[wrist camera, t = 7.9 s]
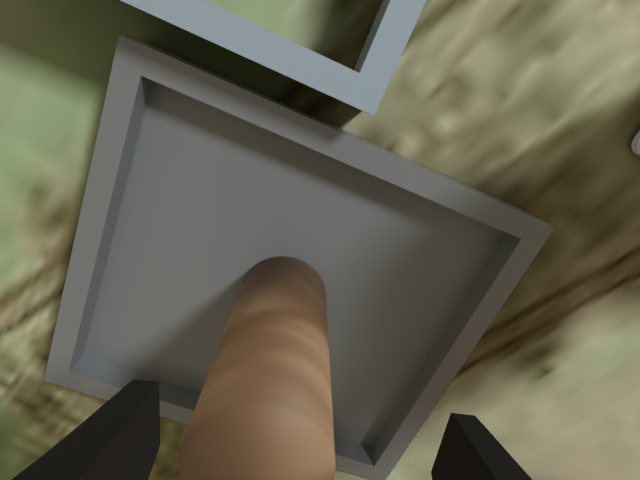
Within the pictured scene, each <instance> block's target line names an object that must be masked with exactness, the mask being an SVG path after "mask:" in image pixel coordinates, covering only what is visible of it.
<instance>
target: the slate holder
mask: <svg viewBox="0 0 640 480" xmlns="http://www.w3.org/2000/svg"><path fill="white" fill-rule="evenodd" d="M120 1H122V2H124V3H126V4H128V5H131V6H133V7H135V8H137V9H139V10H142V11H144V12H146V13H148V14H150V15H153V16H155V17H157V18H159V19H161V20H163V21H166V22H168V23H170V24H172V25H174V26H177V27H179V28H181V29H183V30H185V31H188V32H190V33H192V34H194V35H196V36H199V37H201V38H203V39H205V40H207V41H210V42H212V43H214V44H216V45H218V46H221V47H223V48H225V49H227V50H229V51H232V52H234V53H236V54H238V55H240V56H243V57H245V58H247V59H249V60H251V61H254V62H256V63H258V64H260V65H262V66H265V67H267V68H269V69H271V70H273V71H276V72H278V73H280V74H282V75H284V76H287V77H289V78H291V79H293V80H295V81H298V82H300V83H302V84H304V85H306V86H309V87H311V88H313V89H315V90H317V91H320V92H322V93H324V94H326V95H328V96H331V97H333V98H335V99H337V100H339V101H342V102H344V103H346V104H348V105H350V106H352V107H355V108H357V109H359V110H361V111H364V112H366V113H368V114H371V115H373V116H374V115H375V113H376V111H377V108H378V106H379V104H380V102H381V99H382V97H383V95H384V93H385V91H386V88H387V86H388V84H389V82H390V80H391V77H392V75H393V73H394V71H395V69H396V66H397V64H398V62H399V60H400V57H401V55H402V53H403V51H404V49H405V46H406V44H407V42H408V40H409V38H410V35H411V33H412V31H413V29H414V27H415V24H416V22H417V20H418V18H419V15H420V13H421V11H422V9H423V7H424V4H425V2H426V0H383V1H382V3H381V5H380V8H379V10H378V13H377V15H376V17H375V20H374V22H373V25H372V27H371V29H370V32H369V34H368V37H367V39H366V41H365V44H364V46H363V49H362V51H361V53H360V56H359V58H358V60H357V63H356V65H355V68H354V70H352V69H350V68H348V67H346V66H344V65H342V64H339V63H337V62H335V61H333V60H331V59H329V58H327V57H324V56H322V55H320V54H318V53H316V52H314V51H312V50H310V49H307V48H305V47H303V46H301V45H299V44H297V43H295V42H293V41H290V40H288V39H286V38H284V37H282V36H280V35H278V34H276V33H273V32H271V31H269V30H267V29H265V28H263V27H261V26H259V25H256V24H254V23H252V22H250V21H248V20H246V19H244V18H242V17H239V16H237V15H235V14H233V13H231V12H229V11H227V10H225V9H222V8H220V7H218V6H216V5H214V4H212V3H210V2H208V1H205V0H120Z"/></svg>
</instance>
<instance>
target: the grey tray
mask: <svg viewBox="0 0 640 480" xmlns="http://www.w3.org/2000/svg"><path fill="white" fill-rule="evenodd" d="M554 229H555V226H553V225H551V224H549V223H548V222H546V221H544V220H542V219H541V218H539V217H537V216H535V215H533V214H532V213H530V212H527V211H525V210H523V209H521V208H518V207H516V206H514V205H512V204H509V203H507V202H505V201H503V200H500V199H498V198H496V197H494V196H491V195H489V194H487V193H485V192H482V191H480V190H478V189H476V188H473V187H471V186H469V185H467V184H464V183H462V182H460V181H458V180H455V179H453V178H451V177H449V176H446V175H444V174H442V173H440V172H437V171H435V170H433V169H431V168H428V167H426V166H424V165H422V164H419V163H417V162H415V161H412V160H410V159H408V158H406V157H403V156H401V155H399V154H397V153H394V152H392V151H390V150H388V149H385V148H383V147H381V146H379V145H376V144H374V143H372V142H370V141H367V140H365V139H363V138H361V137H358V136H356V135H354V134H352V133H349V132H347V131H345V130H343V129H340V128H338V127H336V126H334V125H331V124H329V123H327V122H325V121H322V120H320V119H318V118H316V117H313V116H311V115H309V114H307V113H304V112H302V111H300V110H298V109H295V108H293V107H291V106H289V105H286V104H284V103H282V102H280V101H277V100H275V99H273V98H271V97H268V96H266V95H264V94H261V93H259V92H257V91H255V90H252V89H250V88H248V87H246V86H243V85H241V84H239V83H237V82H234V81H232V80H230V79H228V78H225V77H223V76H221V75H219V74H216V73H214V72H212V71H210V70H207V69H205V68H203V67H201V66H198V65H196V64H194V63H192V62H189V61H187V60H185V59H183V58H180V57H178V56H176V55H174V54H171V53H169V52H167V51H165V50H162V49H160V48H158V47H156V46H153V45H151V44H149V43H147V42H144V41H141V40H138V39H135V38H131V37H128V36H124V35H121V34H119V37H118V41H117V46H116V50H115V55H114V60H113V64H112V69H111V73H110V78H109V83H108V87H107V92H106V96H105V101H104V106H103V110H102V115H101V119H100V124H99V129H98V133H97V138H96V142H95V147H94V152H93V156H92V161H91V165H90V170H89V175H88V179H87V184H86V188H85V193H84V197H83V202H82V207H81V211H80V216H79V220H78V225H77V230H76V234H75V239H74V243H73V248H72V253H71V257H70V262H69V266H68V271H67V276H66V280H65V285H64V289H63V294H62V299H61V303H60V308H59V312H58V317H57V322H56V326H55V331H54V335H53V340H52V345H51V349H50V354H49V358H48V363H47V367H46V372H45V377H44V382H48V383H51V384H54V385H58V386H61V387H64V388H67V389H71V390H74V391H77V392H81V393H84V394H87V395H91V396H94V397H97V398H100V399H104V400H107V401H108V400H110V399H111V398H112V397H113V396H114V395H115V394H116V393H118V392H119V391H120V390H121V389H122V388H123V387H124V386H126V385H127V384H128V383H129V382H130V381H132V380H133V379H137V380H146V381H156V382H159V397H160V417H163V418H167V419H170V420H173V421H176V422H180V423H183V424H186V425H189V423H190V420H191V418H192V415H193V412H194V410H195V407H196V404H197V402H198V399H199V396H200V394H201V391H202V388H203V386H204V383H205V380H206V378H207V375H208V372H209V370H210V367H211V364H212V362H213V359H214V356H215V354H216V351H217V349H218V346H219V343H220V341H221V338H222V335H223V333H224V330H225V327H226V325H227V322H228V319H229V317H230V314H231V311H232V309H233V306H234V303H235V301H236V298H237V295H238V293H239V290H240V288H241V285H242V282H243V280H244V278H245V276H246V274H247V273H248V271H249V270H250V269H251V268H252V267H253V266H255V265H256V264H257V263H259V262H261V261H263V260H265V259H268V258H271V257H277V256H287V257H293V258H297V259H299V260H302V261H304V262H306V263H307V264H309V265H310V266H312V267H313V268H314V269H315V270H316V271H317V272H318V274H319V275H320V277H321V278H322V280H323V283H324V286H325V291H326V306H327V323H328V341H329V358H330V376H331V393H332V411H333V429H334V446H335V470H338V471H342V472H345V473H348V474H352V475H355V476H358V477H362V478H365V479H368V480H386V478H387V477H388V475H389V474H390V473H391V471H392V470H393V468H394V467H395V465H396V464H397V462H398V461H399V459H400V458H401V456H402V455H403V453H404V452H405V450H406V449H407V447H408V446H409V444H410V443H411V441H412V440H413V438H414V437H415V435H416V434H417V432H418V431H419V429H420V428H421V426H422V425H423V423H424V422H425V421H426V419H427V418H428V416H429V415H430V413H431V412H432V410H433V409H434V407H435V406H436V404H437V403H438V401H439V400H440V398H441V397H442V395H443V394H444V392H445V391H446V389H447V388H448V386H449V385H450V383H451V382H452V380H453V379H454V377H455V376H456V374H457V373H458V371H459V370H460V369H461V367H462V366H463V364H464V363H465V361H466V360H467V358H468V357H469V355H470V354H471V352H472V351H473V349H474V348H475V346H476V345H477V343H478V342H479V340H480V339H481V337H482V336H483V334H484V333H485V331H486V330H487V328H488V327H489V325H490V324H491V322H492V321H493V319H494V318H495V317H496V315H497V314H498V312H499V311H500V309H501V308H502V306H503V305H504V303H505V302H506V300H507V299H508V297H509V296H510V294H511V293H512V291H513V290H514V288H515V287H516V285H517V284H518V282H519V281H520V279H521V278H522V276H523V275H524V273H525V272H526V270H527V269H528V267H529V266H530V264H531V263H532V262H533V260H534V259H535V257H536V256H537V254H538V253H539V251H540V250H541V248H542V247H543V245H544V244H545V242H546V241H547V239H548V238H549V236H550V235H551V233H552V232H553V230H554Z"/></svg>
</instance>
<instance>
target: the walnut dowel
mask: <svg viewBox="0 0 640 480" xmlns="http://www.w3.org/2000/svg"><path fill="white" fill-rule="evenodd" d="M178 467H179V472H180V475H181V478H182V480H333V478H334V474H335V446H334V429H333V411H332V393H331V376H330V358H329V341H328V323H327V306H326V291H325V286H324V283H323V280H322V278H321V277H320V275H319V274H318V272H317V271H316V270H315V269H314V268H313V267H312V266H310V265H309V264H307V263H306V262H304V261H302V260H299V259H297V258H293V257H287V256H277V257H271V258H268V259H265V260H263V261H261V262H259V263H257V264H256V265H255V266H253V267H252V268H251V269H250V270H249V271H248V273H247V274H246V276H245V278H244V280H243V282H242V285H241V288H240V290H239V293H238V295H237V298H236V301H235V303H234V306H233V309H232V311H231V314H230V317H229V319H228V322H227V325H226V327H225V330H224V333H223V335H222V338H221V341H220V343H219V346H218V349H217V351H216V354H215V356H214V359H213V362H212V364H211V367H210V370H209V372H208V375H207V378H206V380H205V383H204V386H203V388H202V391H201V394H200V396H199V399H198V402H197V404H196V407H195V410H194V412H193V415H192V418H191V420H190V423H189V425H188V428H187V431H186V433H185V436H184V439H183V441H182V444H181V447H180V449H179V455H178Z"/></svg>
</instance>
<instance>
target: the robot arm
mask: <svg viewBox="0 0 640 480" xmlns="http://www.w3.org/2000/svg"><path fill="white" fill-rule="evenodd" d="M631 148H632V151H633V152H634V153H635V154H637V155H639V156H640V130H639V131H638V133H637V134H636V136H635V137H634V139H633V141H632V144H631ZM159 446H160V397H159V382H156V381H146V380H137V379H133V380H132V381H130V382H129V383H128V384H127V385H126V386H124V387H123V388H122V389H121V390H120V391H119V392H118V393H116V394H115V395H114V396H113V397H112V398H111V399H110V400H108V401H107V402H106V403H105V404H104V405H103V406H101V407H100V408H99V409H98V410H97V411H96V412H95V413H93V414H92V415H91V416H90V417H89V418H88V419H86V420H85V421H84V422H83V423H82V424H81V425H79V426H78V427H77V428H76V429H74V430H73V431H72V432H71V433H70V434H68V435H67V436H66V437H65V438H64V439H62V440H61V441H60V442H59V443H58V444H56V445H55V446H54V447H53V448H51V449H50V450H49V451H48V452H47V453H45V454H44V455H43V456H42V457H40V458H39V459H38V460H36V461H35V462H34V463H32V464H31V465H30V466H29V467H27V468H26V469H25V470H23V471H22V472H21V473H19V474H18V475H17V476H16V477H14V478H13V479H12V480H148V477H149V475H150V472H151V469H152V466H153V464H154V461H155V458H156V455H157V452H158V449H159ZM431 473H432V479H433V480H532V479H531V478H530V477H529V476H528V475H527V473H526V472H525V471H524V470H523V469H522V468H521V467H520V466H519V465H518V463H517V462H516V461H515V460H514V459H513V458H512V457H511V456H510V454H509V453H508V452H507V451H506V450H505V449H504V448H503V447H502V445H501V444H500V443H499V442H498V441H497V440H496V439H495V437H494V436H493V435H492V434H491V433H490V432H489V431H488V430H487V428H486V427H485V426H484V425H483V424H482V423H481V422H480V421H479V420H478V419H477V418H476V417H475V416H473V415H464V414H455V413H451V414H450V417H449V420H448V423H447V426H446V429H445V432H444V435H443V438H442V441H441V444H440V447H439V450H438V453H437V456H436V459H435V462H434V465H433V468H432V471H431Z"/></svg>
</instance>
